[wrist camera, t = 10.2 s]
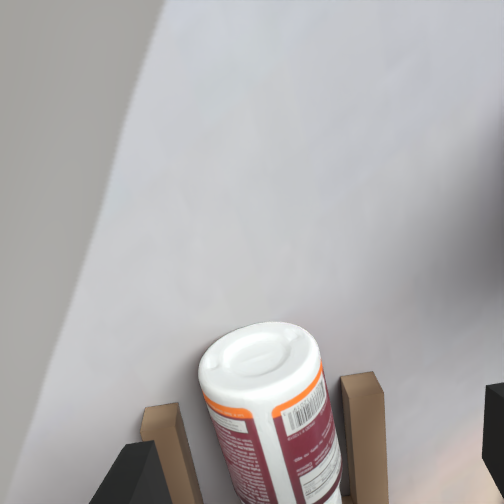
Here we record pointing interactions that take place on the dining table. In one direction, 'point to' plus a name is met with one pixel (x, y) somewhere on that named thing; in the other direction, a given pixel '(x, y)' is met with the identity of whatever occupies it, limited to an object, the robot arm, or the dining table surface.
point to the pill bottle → (273, 415)
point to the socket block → (356, 430)
